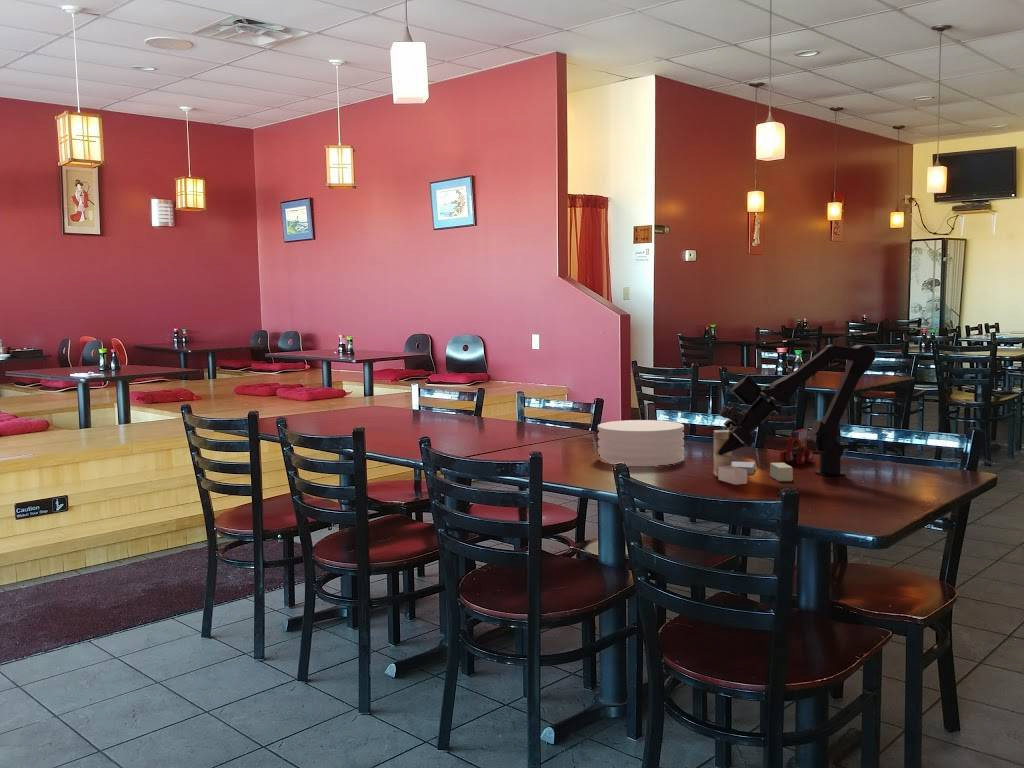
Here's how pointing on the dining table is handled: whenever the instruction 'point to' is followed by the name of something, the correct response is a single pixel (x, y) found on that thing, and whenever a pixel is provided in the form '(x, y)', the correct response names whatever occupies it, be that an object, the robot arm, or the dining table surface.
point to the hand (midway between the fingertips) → (717, 452)
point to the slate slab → (745, 466)
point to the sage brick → (781, 471)
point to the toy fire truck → (797, 448)
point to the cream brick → (732, 474)
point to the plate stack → (641, 442)
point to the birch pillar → (719, 441)
